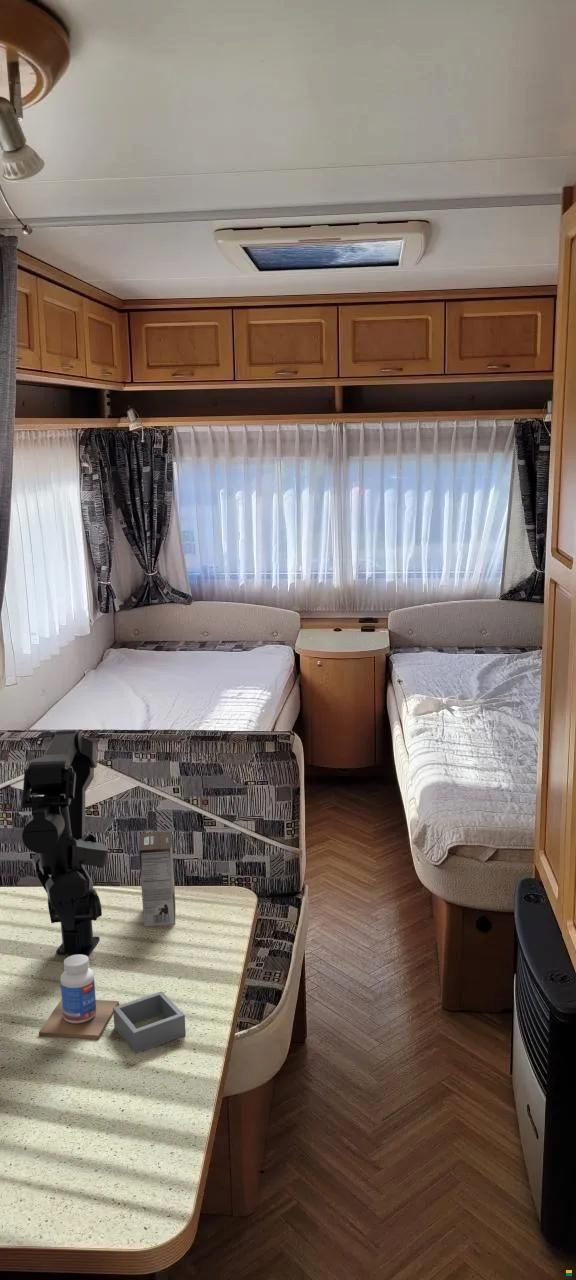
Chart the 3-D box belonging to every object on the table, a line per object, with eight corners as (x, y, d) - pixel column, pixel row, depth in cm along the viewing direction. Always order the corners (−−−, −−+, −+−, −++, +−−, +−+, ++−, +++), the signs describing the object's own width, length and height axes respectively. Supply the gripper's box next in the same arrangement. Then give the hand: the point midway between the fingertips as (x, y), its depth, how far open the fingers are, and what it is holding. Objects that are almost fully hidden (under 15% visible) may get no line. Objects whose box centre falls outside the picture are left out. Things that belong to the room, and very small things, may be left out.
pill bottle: (88, 1025, 156) (84, 969, 155) (57, 1023, 157) (53, 967, 156) (101, 1007, 162) (97, 953, 160) (71, 1005, 163) (67, 951, 161)
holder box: (114, 1027, 157) (112, 1007, 156) (163, 1010, 161) (161, 991, 161) (135, 1053, 150) (133, 1032, 149) (185, 1035, 154) (184, 1014, 153)
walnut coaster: (62, 1001, 165) (61, 998, 165) (118, 1004, 164) (118, 1001, 163) (39, 1035, 155) (38, 1032, 155) (99, 1039, 154) (98, 1035, 154)
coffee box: (144, 906, 200) (139, 832, 197) (176, 904, 200) (171, 830, 197) (143, 927, 191) (137, 849, 188) (176, 924, 191) (171, 847, 188)
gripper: (113, 838, 159) (123, 928, 161) (89, 809, 176) (99, 891, 178) (44, 852, 155) (56, 945, 157) (27, 822, 172) (38, 906, 174)
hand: (64, 920), depth 167 cm, fingers open, 9 cm apart
